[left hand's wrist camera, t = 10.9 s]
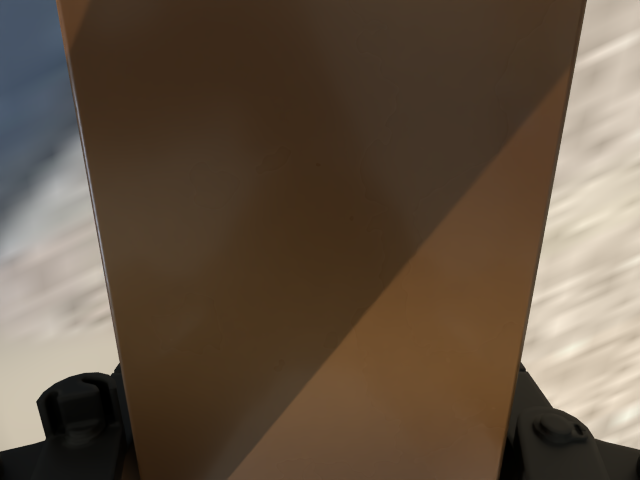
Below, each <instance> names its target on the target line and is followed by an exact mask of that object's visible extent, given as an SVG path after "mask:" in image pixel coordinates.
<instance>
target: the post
mask: <svg viewBox="0 0 640 480" xmlns="http://www.w3.org/2000/svg"><path fill="white" fill-rule="evenodd" d="M586 2H587V0H56V4H57V9H58V15H59V21H60V26H61V32H62V38H63V43H64V49H65V55H66V60H67V66H68V72H69V77H70V83H71V89H72V94H73V100H74V106H75V111H76V117H77V123H78V128H79V134H80V140H81V145H82V151H83V157H84V162H85V168H86V174H87V179H88V185H89V191H90V196H91V202H92V208H93V213H94V219H95V225H96V230H97V236H98V242H99V247H100V253H101V259H102V264H103V270H104V276H105V281H106V287H107V293H108V298H109V304H110V310H111V315H112V321H113V327H114V332H115V338H116V344H117V349H118V355H119V361H120V366H121V372H122V378H123V383H124V389H125V395H126V400H127V406H128V412H129V417H130V423H131V429H132V434H133V440H134V446H135V451H136V457H137V463H138V468H139V474H140V480H499V477H500V471H501V466H502V460H503V455H504V449H505V444H506V438H507V433H508V427H509V422H510V417H511V411H512V406H513V400H514V395H515V389H516V384H517V378H518V373H519V367H520V362H521V357H522V351H523V346H524V340H525V335H526V329H527V324H528V318H529V313H530V307H531V302H532V297H533V291H534V286H535V280H536V275H537V269H538V264H539V258H540V253H541V247H542V242H543V237H544V231H545V226H546V220H547V215H548V209H549V204H550V198H551V193H552V188H553V182H554V177H555V171H556V166H557V160H558V155H559V149H560V144H561V138H562V133H563V128H564V122H565V117H566V111H567V106H568V100H569V95H570V89H571V84H572V78H573V73H574V68H575V62H576V57H577V51H578V46H579V40H580V35H581V29H582V24H583V18H584V13H585V8H586Z"/></svg>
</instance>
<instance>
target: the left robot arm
mask: <svg viewBox="0 0 640 480" xmlns="http://www.w3.org/2000/svg"><path fill="white" fill-rule="evenodd" d="M36 403H37V406H38V410H39V413H40V417H41V421H42V425H43V428H44V432H45V436H46V440H45V441H42V442H38V443H35V444H31V445H27V446H23V447H18V448H14V449H10V450H5V451H1V452H0V480H140V474H139V468H138V463H137V457H136V451H135V446H134V440H133V434H132V429H131V423H130V417H129V412H128V406H127V400H126V395H125V389H124V383H123V378H122V372H121V366H120V363H119V364H118V366H117V367H116V369H115V370H114V373H112V374H111V376H109V375H107V374H103V373H99V372H95V373H83V374H79V375H75V376H71V377H68V378H66V379H64V380H62V381H60V382H57V383H55V384H54V385H52V386H51V387H50V388H48V389H47V390H46V391H44V392H43V393H42V395H41V396H40V397H39V399H38V400H37V401H36ZM499 480H640V450H638V449H634V448H630V447H625V446H621V445H617V444H612V443H608V442H604V441H601V440H598V439H594V437H593V435H592V434H591V432H590V431H589V429H588V428H587V427H586V426H585V425H584V424H583V423H582V422H580V421H579V420H578V419H577V418H575V417H573V416H571V415H570V414H568V413H566V412H564V411H561V410H558V409H554V408H553V407H552V406H551V404H550V403H549V401H548V400H547V399H546V397H545V396H544V394H543V393H542V391H541V390H540V389H539V387H538V386H537V384H536V383H535V381H534V380H533V379H532V377H531V376H530V374H529V373H528V372H526V369H525V367H524V366H523V364H522V363H521V362H520V367H519V373H518V378H517V384H516V389H515V395H514V400H513V406H512V411H511V417H510V422H509V427H508V433H507V438H506V444H505V449H504V455H503V460H502V466H501V471H500V477H499Z"/></svg>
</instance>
